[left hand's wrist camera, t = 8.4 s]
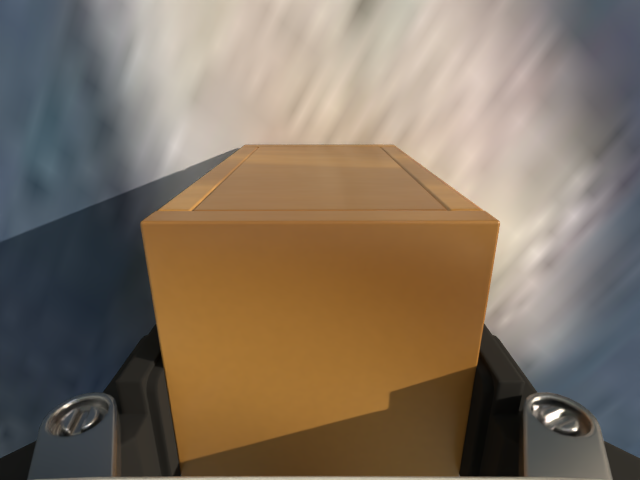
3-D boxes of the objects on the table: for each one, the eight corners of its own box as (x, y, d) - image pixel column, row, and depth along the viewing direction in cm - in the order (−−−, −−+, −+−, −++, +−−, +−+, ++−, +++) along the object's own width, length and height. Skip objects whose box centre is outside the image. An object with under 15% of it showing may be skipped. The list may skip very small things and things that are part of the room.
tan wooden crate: (374, 459, 24) (417, 739, 13) (264, 459, 24) (223, 740, 13) (394, 144, 17) (501, 221, 7) (243, 144, 17) (138, 221, 7)
